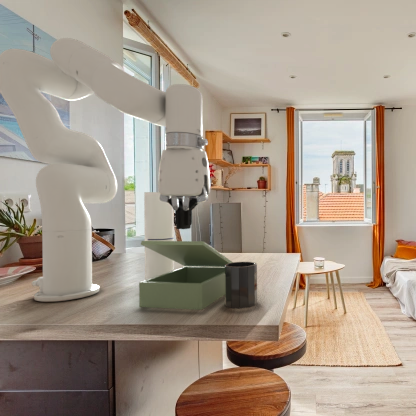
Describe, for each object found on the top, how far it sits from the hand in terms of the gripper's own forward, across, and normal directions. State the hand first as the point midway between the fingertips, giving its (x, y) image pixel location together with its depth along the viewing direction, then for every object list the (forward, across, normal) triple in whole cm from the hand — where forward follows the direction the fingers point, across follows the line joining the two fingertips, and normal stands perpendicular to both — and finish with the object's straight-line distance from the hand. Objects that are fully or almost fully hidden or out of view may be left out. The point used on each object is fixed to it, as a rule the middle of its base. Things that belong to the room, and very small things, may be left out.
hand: (183, 228), depth 71 cm
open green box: (+16, -1, -3) cm, 17 cm away
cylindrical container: (+17, +15, -15) cm, 27 cm away
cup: (+16, -14, +1) cm, 21 cm away
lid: (+7, -1, -3) cm, 7 cm away
